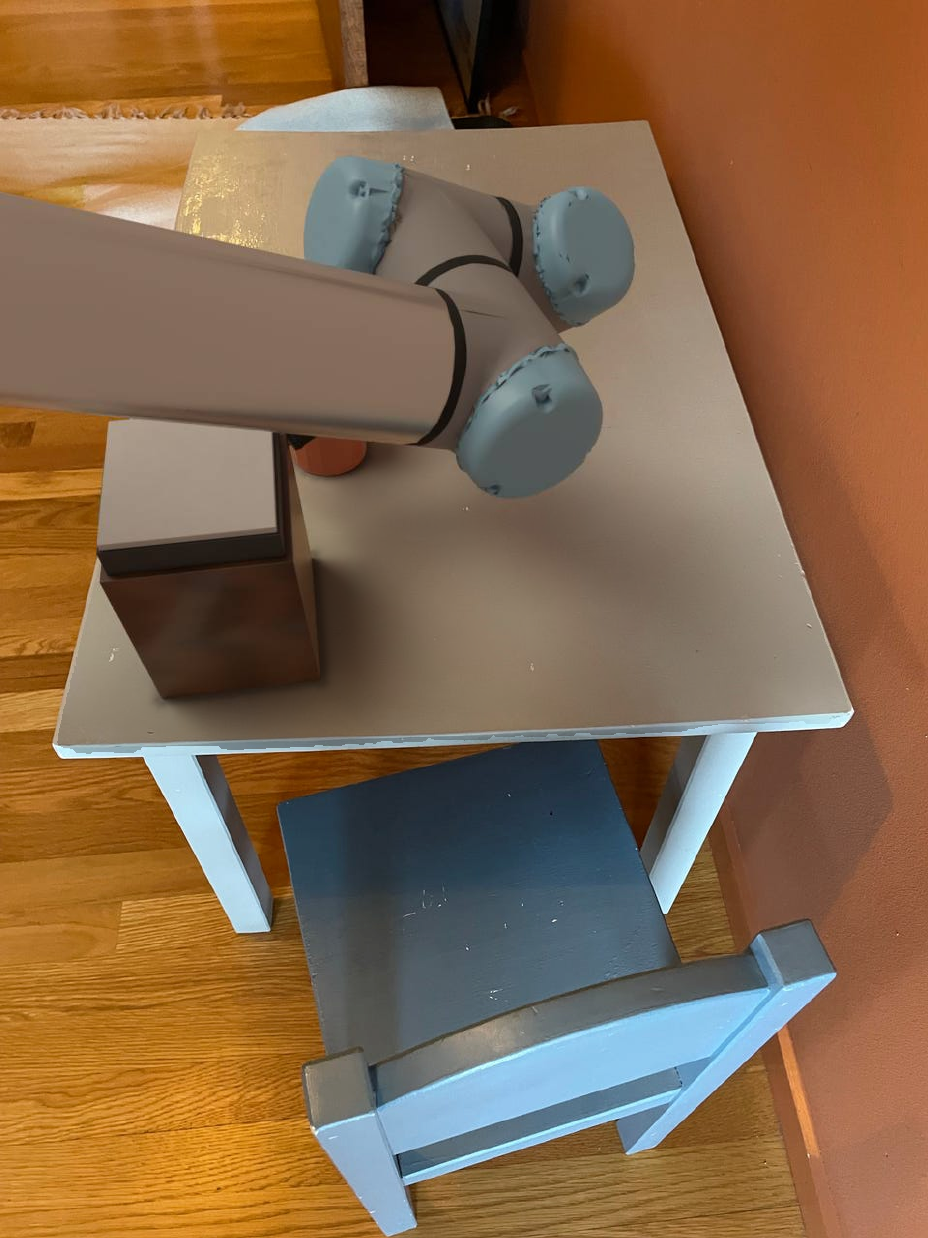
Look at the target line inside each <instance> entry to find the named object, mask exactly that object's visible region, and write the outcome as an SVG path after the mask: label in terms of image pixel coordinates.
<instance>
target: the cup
mask: <svg viewBox="0 0 928 1238" xmlns="http://www.w3.org/2000/svg"><path fill="white" fill-rule="evenodd" d="M367 444H368V443H367V441H360V440H350V439H339V438H329V437H317V438H315V439H313V440H312V441H310V442H309V443H307V444H305V445H304V447H303V448H301V449H300V450H299V449H298V450H296V451H295V450H294V449H293V447H292V446H289V447H290V452H291V456H292V459H293V461H294V462H295V463H296V464H297V465H298V466H299V467H300V468H301V469H302V470H303V471H305V472H308V473H309V474H312V475H316V476H320V477H332V476H338V475H342V474H345V473H347V472H350V471H351V470H354V469H355V468H356V467H357V466H359V465H360V463H361V462H362V461H363V460H364V458H365V456H366V453H367V449H368V445H367Z"/></svg>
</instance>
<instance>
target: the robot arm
mask: <svg viewBox="0 0 928 1238" xmlns="http://www.w3.org/2000/svg"><path fill="white" fill-rule="evenodd" d="M304 218H305V219H304V227H303V238H302V239H303V243H302V244H303V255H304V256H303V257H304V258H299V257H295V256H290V255H286V254H282V253H277V252H273V251H268V250H263V249H260V248H255V247H250V246H246V245H241V244H237V243H234V242H233V243H232V242H228V241H224V240H219V239H215V238H210V237H205V236H201V235H196V234H192V233H187V232H183V231H179V230H175V229H171V228H165V227H161V226H156V225H152V224H147V223H144V222H139V221H134V220H129V219H125V218H121V217H116V216H111V215H107V214H103V213H98V212H94V211H90V210H84V209H81V208H76V207H72V206H67V205H63V204H58V203H54V202H49V201H45V200H40V199H35V198H31V197H27V196H23V195H17V194H14V193H9V192H4V191H0V407H7V408H18V409H25V410H26V409H28V410H39V411H47V412H48V411H49V412H59V413H69V414H71V413H72V414H79V415H88V416H89V415H91V416H99V417H101V416H102V417H111V418H122V419H141V420H152V421H162V422H172V423H183V424H193V425H204V426H214V427H225V428H235V429H245V430H256V431H266V432H277V433H287V437H288V442H289V447H290V446H292V447H293V449H294V450H295V451H296V450H298V449H299V450H300V449H301V448H303V447H304V445H305V444H307V443H309V442H310V441H312V440H313V439H315V438H317V437H329V438H339V439H350V440H360V441H366V442H371V443H382V444H393V445H403V446H411V447H419V448H424V449H425V448H426V449H435V450H436V449H437V450H446V451H450V452H452V453H453V454H455V459H456V463H457V466H458V468H459V470H461V471H462V472H463V473H465V474H466V475H467V476H468V477H469V479H470V480H471V481H472V483H473V484H475V486H476V487H477V488H478V489H480V490H481V491H483V492H484V493H487V494H488V495H489V496H491V497H492V498H493V497H494V498H496V499H497V498H498V499H501V500H518V499H519V500H520V499H525V498H530V497H532V496H536V495H539V494H542V493H545V492H546V491H548V490H550V489H553V488H554V487H556V486H557V485H559V484H561V483H562V482H563V481H565V480H566V479H568V478H569V477H570V476H571V475H572V474H574V473H575V472H576V471H577V470H578V469H579V468H580V467H581V465H582V464H584V463H585V460H586V458H587V455H588V454H589V453H591V452H592V449H593V448H594V447H595V446H596V445H597V443H598V440H599V437H600V435H601V432H602V429H603V424H604V423H603V422H604V410H603V402H602V400H601V397H600V395H599V393H598V391H597V389H596V388H595V386H594V385H593V383H592V381H591V379H590V378H589V375H588V374H587V373H586V371H585V369H584V368H583V366H582V364H581V363H580V358H579V355H578V354H577V352H576V350H575V349H574V348H573V346H570V345H569V344H568V343H566V342H565V341H564V339H563V338H562V337H561V335H560V334H561V333H563V332H565V331H569V330H570V329H572V328H580V327H583V326H585V325H586V324H588V323H589V322H590V321H591V320H593V319H595V318H596V317H598V316H600V315H601V314H604V313H605V312H606V311H609V310H610V309H612V308H614V307H615V306H617V305H618V304H619V303H620V302H621V301H622V300H623V299H624V297H625V296H626V295H627V293H628V292H629V290H630V289H631V286H632V284H633V280H634V276H635V270H636V261H635V243H634V238H633V235H632V232H631V229H630V226H629V224H628V222H627V220H626V218H625V216H624V215H623V212H621V210H620V209H619V207H618V206H617V205H616V203H614V201H613V200H612V199H611V198H610V197H608V196H607V195H606V194H604V193H603V192H601V191H600V190H598V189H596V188H593V187H590V186H586V185H579V186H572V187H571V186H570V187H568V188H566V189H563V190H561V191H559V192H557V193H555V194H553V193H551V194H550V195H548V196H547V197H544V198H543V199H542V200H541V201H540V202H539V204H533V205H530V204H526V203H523V202H519V201H516V200H513V199H510V198H507V197H504V196H500V195H499V196H498V195H497V196H495V195H492V194H488V193H485V192H482V191H479V190H476V189H473V188H470V187H466V186H464V185H460V184H457V183H455V182H451V181H448V180H445V179H442V178H439V177H436V176H433V175H429V174H427V173H423V172H421V171H417V170H414V169H411V168H408V167H405V166H403V163H400V162H396V161H394V162H392V163H391V162H387V161H382V160H378V159H373V158H369V157H365V156H361V155H354V154H348V155H343V156H340V157H337V158H336V159H334V160H333V161H332V162H331V163H330V164H328V165H327V166H326V168H324V170H323V171H322V172H321V173H320V176H319V177H318V179H317V181H316V183H315V185H314V186H313V190H312V193H311V196H310V198H309V202H308V205H307V207H306V212H305V217H304Z"/></svg>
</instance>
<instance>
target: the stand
mask: <svg viewBox="0 0 928 1238" xmlns="http://www.w3.org/2000/svg"><path fill="white" fill-rule="evenodd" d="M279 435H280V454H281V474H282V494H283V514H284V534H285V554H286V555H285V557H276V558H266V559H257V560H248V561H238V562H229V563H219V564H210V565H201V566H191V567H182V568H173V569H163V570H154V571H145V572H135V573H126V574H117V575H107V574H106V572H105V570H104V568H103V566H102V564H101V563H100V574H99V584H100V586H101V588H102V591H103V592H104V594H105V596H106V598H107V599H108V602H109V603H110V605H111V607H112V608H113V610H114V612H115V614H116V616H117V618H118V620H119V622H120V624H121V626H122V627H123V629H124V631H125V633H126V635H127V636H128V637H127V638H128V639H129V640H130V642H131V644H132V646H133V648H134V650H135V651H136V654H137V656H138V657H139V659H140V661H141V663H142V664H143V666H144V669H145V670H146V672H147V674H148V676H149V678H150V679H151V681H152V684H153V685H154V688H155V689H156V691H157V692H158V694H159V696H160V698H161V699H166V698H174V697H175V698H176V697H183V696H191V695H200V694H207V693H208V694H209V693H216V692H217V693H218V692H223V691H224V692H225V691H234V690H240V689H250V688H259V687H266V686H273V685H274V686H275V685H283V684H291V683H299V682H307V681H314V680H321V669H320V666H321V665H320V655H319V654H320V653H319V640H318V627H317V626H318V625H317V613H316V612H317V611H316V599H315V598H316V596H315V584H314V567H313V557H312V552H311V547H310V542H309V536H308V532H307V528H306V522H305V517H304V512H303V507H302V501H301V497H300V492H299V488H298V483H297V477H296V472H295V468H294V463H293V456H292V452H291V447H290V446H289V442H288V437H287V433H279Z"/></svg>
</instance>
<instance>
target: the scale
mask: <svg viewBox="0 0 928 1238" xmlns="http://www.w3.org/2000/svg"><path fill="white" fill-rule="evenodd" d="M95 554H96V557H97V558H98V560H99V563H100V565H101V564H102V566H103V568H104V570H105V572H106V574H107V575H117V574H126V573H135V572H145V571H154V570H163V569H173V568H182V567H191V566H201V565H210V564H219V563H229V562H238V561H248V560H257V559H266V558H276V557H285V555H286V554H285V534H284V514H283V494H282V474H281V454H280V435H279V433H277V432H266V431H256V430H245V429H235V428H225V427H214V426H204V425H193V424H183V423H172V422H162V421H152V420H141V419H131V418H128V419H118V420H109V421H108V424H107V434H106V446H105V454H104V461H103V468H102V477H101V487H100V497H99V508H98V518H97V538H96V551H95Z"/></svg>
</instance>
